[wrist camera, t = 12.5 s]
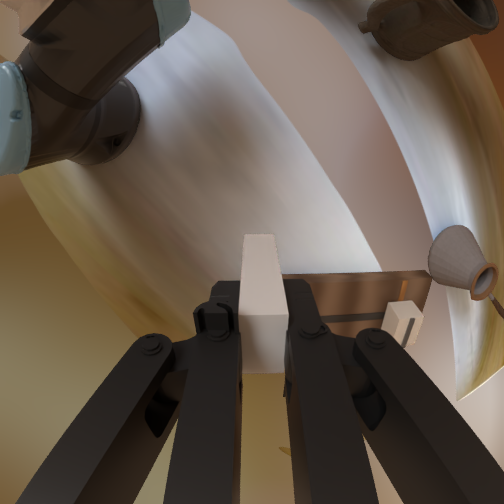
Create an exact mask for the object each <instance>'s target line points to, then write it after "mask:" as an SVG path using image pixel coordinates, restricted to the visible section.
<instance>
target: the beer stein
mask: <svg viewBox="0 0 504 504" xmlns="http://www.w3.org/2000/svg"><path fill="white" fill-rule="evenodd" d="M498 22H499V17H498V11H497V9H496V6H495V4H494V2H493V0H376V1H375V2H374V3H373V4H372V5H371V6H370V8H369V9H368V12H367V21H365V22H361V23H359V24H358V26H359V29H360V31H361V32H362V33H363V34H364V33H368V32H372V34H373V36H374V38H375V39H376V41H377V42H378V43H379V44H380V46H381V47H383V48H384V49H385V50H386V51H387V52H388V53H390V54H391V55H393V56H395V57H397V58H399V59H402V60H408V61H411V60H416V59H419V58H421V57H422V56H423V55H426V54H429V53H430V52H432V51H434V50H436V49H438V48H440V47H443V46H445V45H448V44H450V43H453V42H456V41H460V40H462V39H465V38H468V37H469V36H470V35H473V34H478V35H483V34H488V33H489V32H490V31H492V30H494V29H495V28H496V27H497V25H498Z"/></svg>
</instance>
